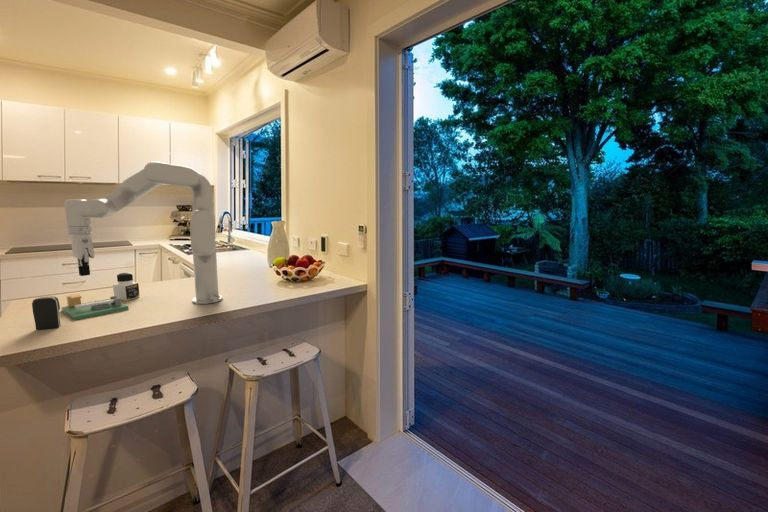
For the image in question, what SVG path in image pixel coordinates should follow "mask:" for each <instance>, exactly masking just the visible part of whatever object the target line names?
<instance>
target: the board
mask: <svg viewBox="0 0 768 512" xmlns="http://www.w3.org/2000/svg"><path fill="white" fill-rule="evenodd" d="M113 298H116V299H114V301H115V302H113V303H107V304H101V305H95V306H89V307H83V308H75V306H70V307H69V306H68V305H65V306H60V310H61V312H63V313H64V314H66V315H67V316H68V317H70V319H72V320H74V321H78V320H81V319H88V318H92V317H98V316H103V315H107V314H114V313H119V312H123V311H127V310H128V311H129V305H127V304H125V303H124V302H123V303H122V300H121V298H117V296H114V295H113V296H110V298H106V299H105V300H110V299H113ZM103 300H104V299H100V300H99V301H103ZM97 301H98V300H95V301H93V302H97ZM91 302H92V301H88V302H87V303H91ZM85 303H86V302H84V303H82V304H85Z"/></svg>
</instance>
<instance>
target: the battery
mask: <svg viewBox="0 0 768 512" xmlns="http://www.w3.org/2000/svg"><path fill="white" fill-rule="evenodd" d="M31 307H32V315H33V320H34V324H35V325H34V326H35V330H47V329H55V328H56V329H57V328H60V327H61V321H60V310H61V306H60V300H59V298H58V297H57V296H40V297H37V298H35V299H33V300H32V302H31Z"/></svg>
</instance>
